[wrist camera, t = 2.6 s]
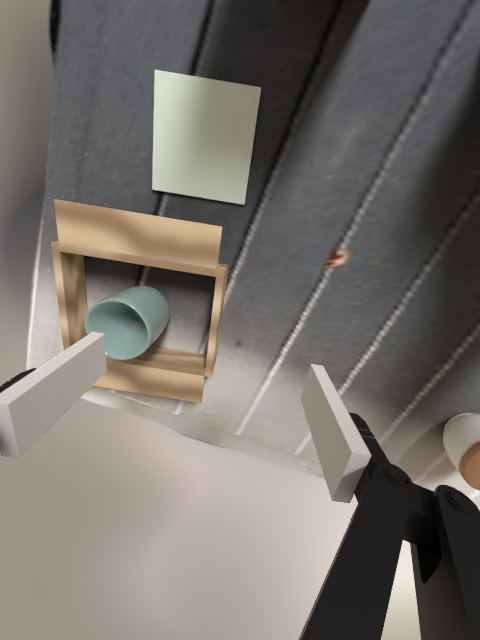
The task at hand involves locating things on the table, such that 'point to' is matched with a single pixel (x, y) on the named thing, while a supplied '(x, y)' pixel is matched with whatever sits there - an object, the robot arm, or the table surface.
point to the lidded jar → (464, 446)
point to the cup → (129, 320)
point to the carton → (145, 249)
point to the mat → (203, 136)
